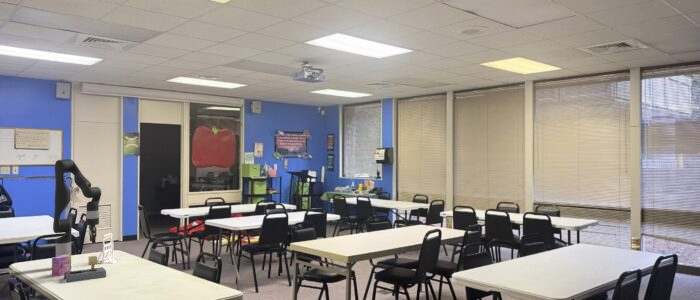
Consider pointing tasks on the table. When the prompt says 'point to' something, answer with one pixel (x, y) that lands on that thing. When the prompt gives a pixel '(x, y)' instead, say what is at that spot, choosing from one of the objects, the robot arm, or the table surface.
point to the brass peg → (93, 261)
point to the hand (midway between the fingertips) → (92, 242)
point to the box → (61, 265)
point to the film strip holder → (108, 260)
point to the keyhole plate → (84, 274)
